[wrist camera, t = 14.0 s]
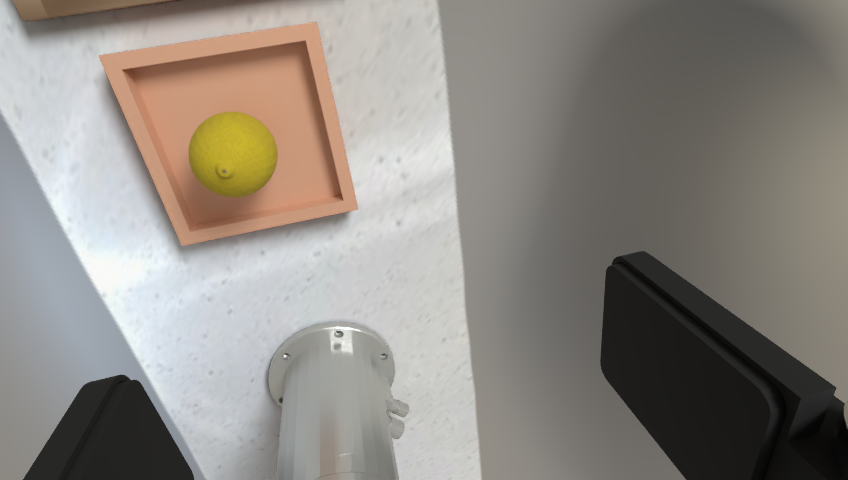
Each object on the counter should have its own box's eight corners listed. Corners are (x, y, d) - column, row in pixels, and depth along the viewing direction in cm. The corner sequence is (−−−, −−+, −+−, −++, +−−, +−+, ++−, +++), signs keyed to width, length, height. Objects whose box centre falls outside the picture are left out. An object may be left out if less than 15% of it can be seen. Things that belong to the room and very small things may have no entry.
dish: (356, 198, 39) (358, 209, 37) (189, 232, 38) (181, 245, 35) (316, 21, 33) (316, 22, 31) (113, 53, 31) (98, 55, 29)
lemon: (296, 150, 36) (290, 183, 29) (238, 188, 36) (218, 229, 29) (249, 87, 33) (230, 107, 26) (187, 128, 33) (151, 158, 26)
